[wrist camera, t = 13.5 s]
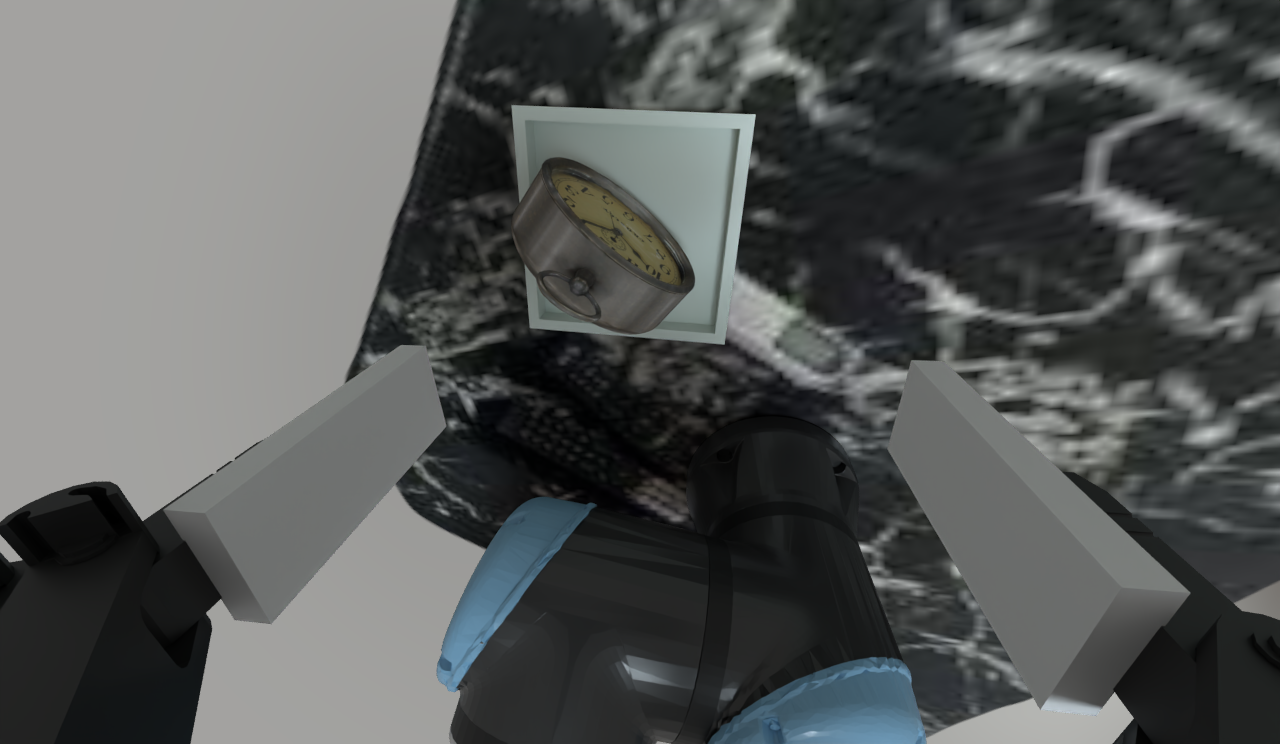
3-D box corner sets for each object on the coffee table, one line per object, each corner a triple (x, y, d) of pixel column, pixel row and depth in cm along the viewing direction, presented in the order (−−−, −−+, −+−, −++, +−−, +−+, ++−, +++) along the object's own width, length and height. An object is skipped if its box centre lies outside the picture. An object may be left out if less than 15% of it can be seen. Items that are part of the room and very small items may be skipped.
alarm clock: (701, 252, 34) (698, 344, 19) (653, 305, 36) (619, 421, 22) (581, 146, 31) (478, 161, 17) (539, 209, 34) (417, 269, 19)
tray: (723, 331, 37) (724, 344, 35) (539, 316, 38) (529, 328, 36) (751, 115, 30) (755, 114, 28) (525, 106, 31) (511, 105, 29)
